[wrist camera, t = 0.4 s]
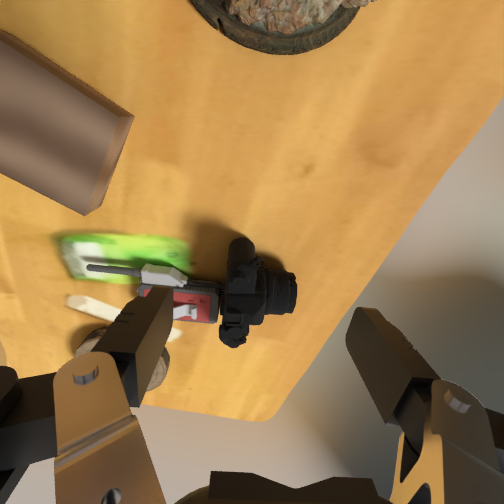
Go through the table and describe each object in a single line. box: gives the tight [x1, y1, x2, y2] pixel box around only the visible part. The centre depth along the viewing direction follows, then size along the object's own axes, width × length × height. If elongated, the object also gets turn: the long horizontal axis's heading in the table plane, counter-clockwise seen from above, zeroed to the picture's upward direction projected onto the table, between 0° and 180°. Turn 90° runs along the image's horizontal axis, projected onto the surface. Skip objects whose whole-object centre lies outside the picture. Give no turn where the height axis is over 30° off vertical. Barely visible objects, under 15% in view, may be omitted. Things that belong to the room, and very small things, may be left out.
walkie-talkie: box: [86, 264, 225, 324], centre depth 35 cm, size 9×4×20 cm
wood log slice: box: [74, 327, 170, 392], centre depth 45 cm, size 16×16×3 cm
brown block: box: [0, 31, 135, 216], centre depth 25 cm, size 12×12×4 cm
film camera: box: [219, 238, 297, 348], centre depth 33 cm, size 15×10×9 cm, turn 172°
